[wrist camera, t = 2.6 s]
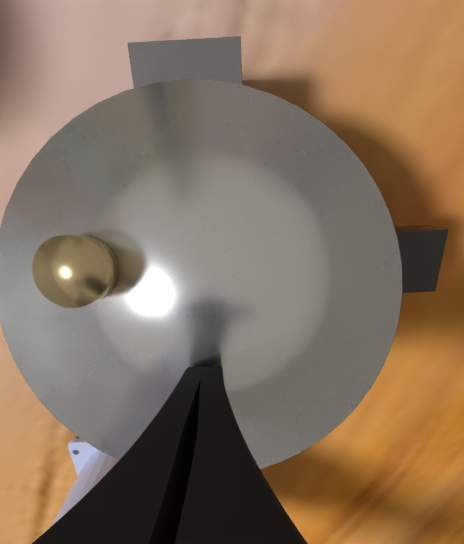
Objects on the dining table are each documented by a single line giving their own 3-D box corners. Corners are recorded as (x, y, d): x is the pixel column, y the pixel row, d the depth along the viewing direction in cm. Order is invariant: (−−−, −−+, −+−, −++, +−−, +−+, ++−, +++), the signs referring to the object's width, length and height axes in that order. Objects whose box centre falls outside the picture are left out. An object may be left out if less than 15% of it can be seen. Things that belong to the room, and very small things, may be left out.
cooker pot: (377, 343, 18) (417, 386, 14) (60, 359, 18) (15, 405, 14) (418, 69, 13) (497, 22, 9) (-23, 94, 13) (-126, 56, 9)
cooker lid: (377, 445, 12) (409, 492, 10) (52, 460, 12) (13, 511, 10) (391, 86, 10) (437, 44, 7) (-13, 108, 10) (-83, 73, 8)
